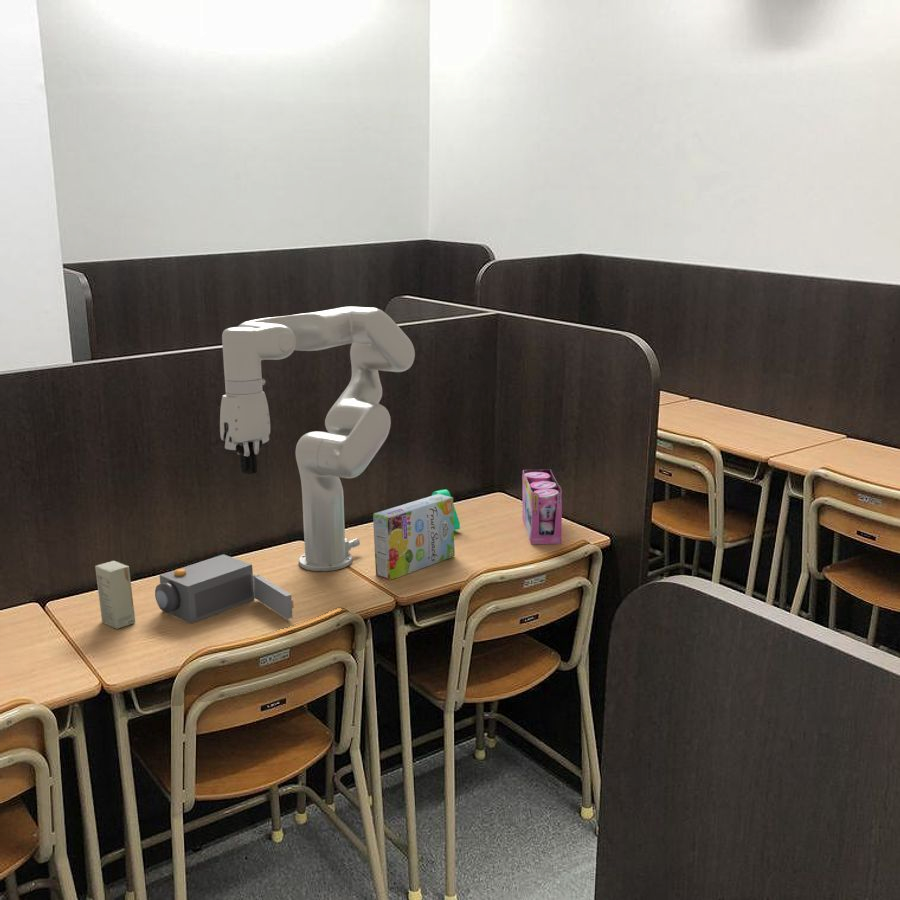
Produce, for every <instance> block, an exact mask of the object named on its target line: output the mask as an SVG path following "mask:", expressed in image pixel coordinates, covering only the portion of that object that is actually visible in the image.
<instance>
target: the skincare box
mask: <svg viewBox="0 0 900 900" xmlns="http://www.w3.org/2000/svg"><path fill="white" fill-rule="evenodd" d="M94 566H95V567H94V568H95V576H96V584H97V585H96V586H97V593H98V601H99V608H100V615H101V616H100V617H101V622H102V623H103V624H106V625H107V626H110V627H112V628H113V629H116V630H118V629H121V628H124V627H126V626H130V625H133V624H135V623H136V615H135V607H134V599H133V591H132V588H133V587H132V581H131V572H130V571H131V570H130V566H129V565H127V564H124V563H121V562H119V561H116V560H110V561H107V562H104V563H100V564H97V565H94Z"/></svg>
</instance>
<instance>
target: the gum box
mask: <svg viewBox="0 0 900 900" xmlns="http://www.w3.org/2000/svg"><path fill="white" fill-rule="evenodd" d="M521 476H522V477H521V478H522V481H521V482H522V489H521V490H522V494H521V495H522V507H521V508H522V516H521V517H522V520H523V524H524V527H525V529H526V530H525V531H526V533H527V537H528V540H529V542H530V545H561V544H562V535H563V534H562V529H563V527H562V525H563V523H562V517H563V516H562V515H563V510H562V509H563V507H562V506H563V505H562V504H563V500H562V498H563V497H562V496H563V495H562V494H563V493H562V488H561V486H560V485H559V484H558V481H557V480H556V478H555V476H554V474H553V471H552V469H550V468H549V469H547V468H546V469H523V470H522V474H521Z"/></svg>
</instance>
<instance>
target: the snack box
mask: <svg viewBox="0 0 900 900" xmlns="http://www.w3.org/2000/svg"><path fill="white" fill-rule="evenodd" d="M453 504H454V497H453V496H451V497H449V496H445V495H441V494H436V495H433V496H432V495H430V496H427V497H423V498H420V499H417V500H413V501H411V502H407V503H404V504H402V505H401V504H400V505H398V506H397V505H396V506H394V507H391V508H387V509H384V510H381V511H377V512H374V513H372V520H373V521H372V523H373V539H374V540H373V543H374V564H375V565H374V566H375V575H376V576H378V577H381V578H383V577H384V579H387V580H389V579H390V581H391V579H392V580H394V578H395V579H397V578H400V577H402V576H405V575H408V574H410V573H413V571H414V572H417V571H418V570H421V568H422V569H423V568H424V569H425V568H426V567H429V566H433V565H435V564H437V563H440V562H442V561H446V560H448V559H450V558H453V557H455V555H456V552H455V548H456V547H455V530H454V514H453Z"/></svg>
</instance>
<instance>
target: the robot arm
mask: <svg viewBox="0 0 900 900" xmlns="http://www.w3.org/2000/svg"><path fill="white" fill-rule="evenodd" d="M221 341H222V344H221V345H222V355H223V356H222V357H223V358H222V359H223V371H224V372H223V374H224V385H225V387H224V388H225V394H223V395H222V396H221V402H220V410H219V411H220V413H219V414H220V415H219V418H220V419H219V433H220V434H219V435H220V439H221V441H224V442H225V443H224V449H225V450H229V451H235V452H236V453H237V455H239V461H240V469H241V472H242V474H247V475H253V474H257V473H258V469H257V467H258V461H257V455H258V454H259V452H260V448H261V447H262V445H263V444H265V443H268V442H269V440H270V434H271V418H270V411H269V403H268V400H267V397H266V393H265V391H263V386H264V385H266V383H267V382H266V380H265V378H263V377H262V361H264V360H272V361H273V360H274V361H275V360H277V361H279V360H283V359H286V358H288V357H289V356H290V355H292V354H293V353H294V351H299V352H300V351H301V352H304V351H305V352H313V351H321V350H322V351H323V350H327V349H331V348H334V347H339V346H343V345H344V346H345V345H350V344H351V346H350V351H349V355H350V356H349V357H350V363H351V378H350V381H349V383H348V385H347V386H346V388H345V389H344V390H343V392H342V393H341V394H340V396H339V397H338V398H337V400H336V401H335V402H334V404H333V405H332V406H331V408H330V409H329V410H328V412H327V414H326V417H325V419H324V426H325V429H326V431H319V430H318V431H317V430H315V431H309V432H307V433H305V434H303V435H302V436H300V438H299V440H297V441H298V442H297V443H296V447H295V461H296V463H297V467H298V473H299V477H300V482H301V483H300V484H301V497H302V498H301V499H302V520H303V538H304V539H303V540H304V543H303V544H304V554H301V556H300V557H299V558H298V565H299V566H300V568H302V569H305V570H308V571H313V572H332V571H338V570H341V569H344V568H346V567H348V566H350V564H352V563H353V555H352V553H350V552H349V551H351V549H352V548H353V549H354V548H356V547H359V546H360V544H361V542H360V539H359V538H358V537H356V538H354V539H350V540H349V539H348V538H346V535H345V534H346V531H345V529H346V528H345V506H344V501H345V499H344V487H343V485H342V484H343V483H342V481H341V479H340V478H343V479H353V478H357V477H358V476H360V475H361V474H362V473H363V472H364V471H365V470H366V468H367V467H368V466H369V464H370V463H371V461H372V460H373V459H374V457H375V456H376V454H377V453H378V452H379V450H380V449H381V447H382V446H383V445H384V443H385V441H386V440H387V438H388V435H389V434H390V429H391V424H392V421H391V416H390V415H391V414H390V413H389V410H388V409H387V407H385V406H384V405H382V404H380V401H381V400H382V398H383V387H382V386H383V385H382V383H381V379H380V374H379V371H382V372H393V373H403V372H405V371H407V370H409V369H410V368H411V367H412V365H413V364H414V361H415V357H416V352H415V347H414V344H413V343H412V340H411V339H410V337H408V335H406V333H405V332H404V331H403V330H402V328H400V327H399V325H398V324H397V323H396V322H395V321H394V320H393V319H392V318H391V316H389V315H388V314H387V313H386V312H385V311H383V309H379V308H377V307H369V306H367V307H365V306H342V307H336V308H330V309H325V310H319V311H313V312H305V313H298V314H297V313H296V314H291V315H290V314H289V315H281V316H273V317H263V318H257V319H251V320H247V321H244V322H241V323H240V324H239V325H237V326H233V327H228V328H225V329H224V330H223V332H222V335H221Z"/></svg>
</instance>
